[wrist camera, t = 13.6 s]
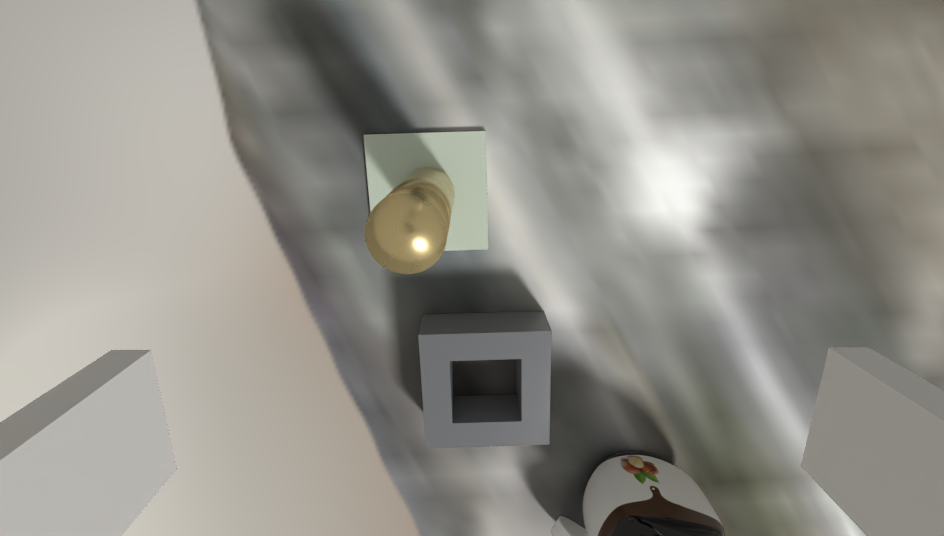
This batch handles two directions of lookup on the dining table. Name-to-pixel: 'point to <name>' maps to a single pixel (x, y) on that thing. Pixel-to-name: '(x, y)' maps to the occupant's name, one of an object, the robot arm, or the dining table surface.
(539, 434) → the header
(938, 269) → the dining table surface
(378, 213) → the plug
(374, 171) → the mat
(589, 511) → the spread jar
